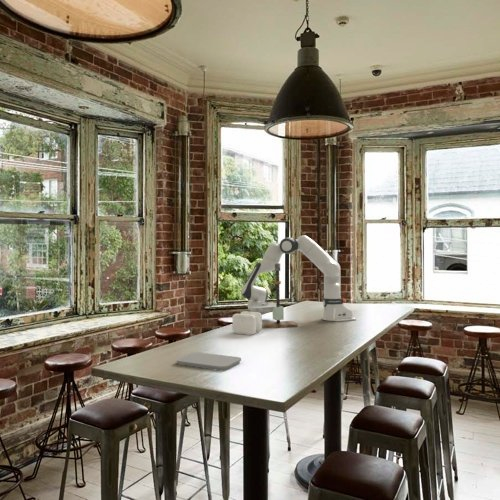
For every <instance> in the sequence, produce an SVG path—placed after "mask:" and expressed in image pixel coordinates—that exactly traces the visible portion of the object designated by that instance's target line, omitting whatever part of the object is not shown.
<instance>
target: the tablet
mask: <svg viewBox="0 0 500 500" xmlns="http://www.w3.org/2000/svg"><path fill="white" fill-rule="evenodd" d="M241 361H242V358H241V357H240V356H234V355H223V354H215V353H214V354H213V353H207V352H198V351H197V352H190V353H188V354H186V355H182V356H181V357H178V358H176V362H177V364H178V365H180V366H184V365H187V366H186V367H192V366H195V367H194V368H199V367H202V368H201V369H206V368H209V369H208V370H213V369H216V370H215V371H221V370H222V371H227V369H228V370H229V368H230V369H232V368H234V367H236V366H237V365H239V364H240V362H241ZM231 367H232V368H231Z"/></svg>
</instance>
